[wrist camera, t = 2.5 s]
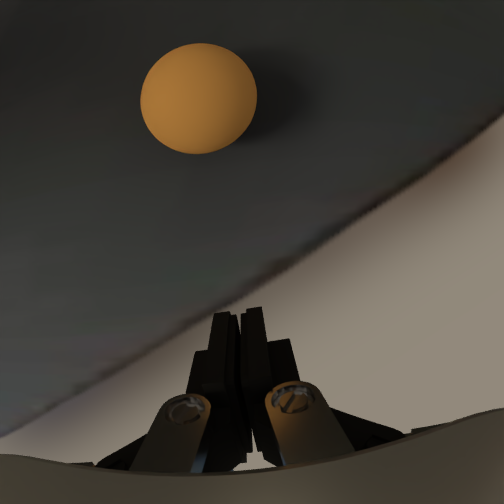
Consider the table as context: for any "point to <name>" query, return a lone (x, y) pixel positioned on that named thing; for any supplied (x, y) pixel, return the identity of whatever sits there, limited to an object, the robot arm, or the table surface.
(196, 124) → the ball
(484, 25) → the table surface
